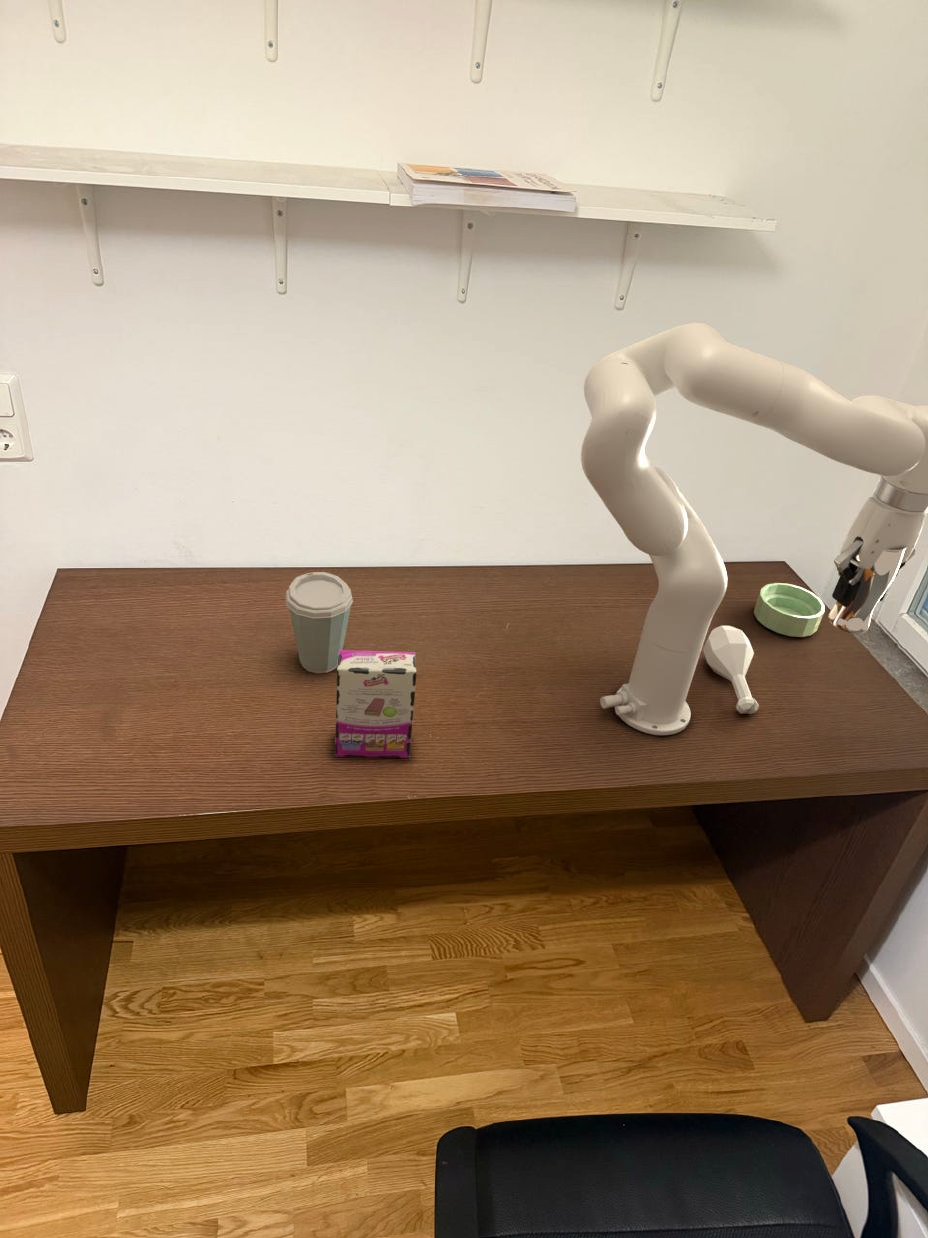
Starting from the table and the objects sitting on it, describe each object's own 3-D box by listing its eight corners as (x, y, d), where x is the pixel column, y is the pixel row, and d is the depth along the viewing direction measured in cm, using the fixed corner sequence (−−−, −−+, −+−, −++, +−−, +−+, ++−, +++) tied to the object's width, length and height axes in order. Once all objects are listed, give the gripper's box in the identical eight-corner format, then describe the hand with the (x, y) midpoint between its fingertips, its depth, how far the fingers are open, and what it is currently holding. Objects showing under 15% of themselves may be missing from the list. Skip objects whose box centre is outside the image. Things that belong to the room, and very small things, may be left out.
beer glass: (849, 607, 146) (884, 525, 137) (880, 632, 140) (918, 548, 132) (815, 612, 143) (849, 529, 135) (845, 638, 138) (882, 553, 129)
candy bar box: (408, 736, 139) (417, 650, 130) (409, 759, 135) (418, 672, 126) (334, 734, 138) (338, 647, 128) (333, 757, 133) (337, 669, 124)
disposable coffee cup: (360, 674, 150) (364, 598, 142) (297, 688, 145) (298, 611, 137) (336, 638, 158) (339, 565, 149) (276, 651, 153) (275, 575, 144)
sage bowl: (780, 643, 172) (788, 622, 169) (740, 608, 181) (747, 587, 178) (829, 634, 176) (838, 612, 174) (788, 600, 185) (795, 579, 183)
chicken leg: (714, 719, 152) (749, 691, 147) (689, 640, 164) (720, 611, 159) (751, 732, 155) (786, 705, 150) (723, 654, 168) (754, 626, 163)
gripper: (925, 478, 135) (879, 580, 145) (840, 486, 128) (797, 592, 138) (966, 501, 130) (915, 605, 140) (879, 511, 123) (831, 620, 133)
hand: (857, 598), depth 139 cm, fingers closed on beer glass, 6 cm apart
